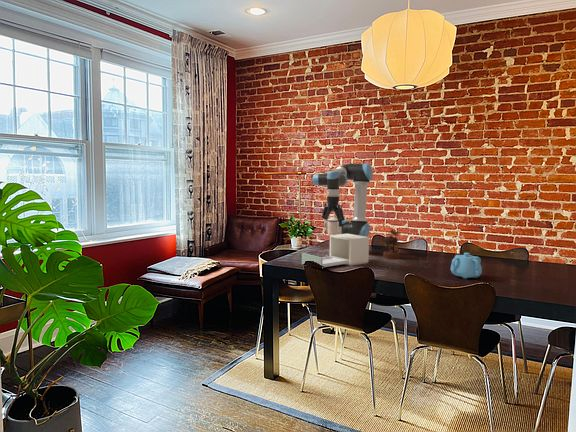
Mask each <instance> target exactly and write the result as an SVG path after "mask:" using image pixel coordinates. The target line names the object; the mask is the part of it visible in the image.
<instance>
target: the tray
mask: <svg viewBox="0 0 576 432" xmlns="http://www.w3.org/2000/svg"><path fill="white" fill-rule="evenodd" d="M305 261H314V262H317V263H319V264H320V265H322V266H324V267H323V268H327V267H333V266H340V265H345V264H347V263H349V260H346V259H342V258H338V257H334V256H323V257H321V256H318V255H317V256H316V255H313V254H309V253H305V252H301V265H303V264H304V263H305Z"/></svg>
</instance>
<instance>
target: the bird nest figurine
mask: <svg viewBox="0 0 576 432" xmlns="http://www.w3.org/2000/svg"><path fill="white" fill-rule="evenodd" d="M390 234H391V235H388V236H385V237H384V238H383V242H384V244H386V245H384V244H381V246H382V247H383V248H385V249H386V250H385V251H384V252H383V254H382V255H383V256H382V258H383V259H385V258H386V259H385V260H398V259H400V253H399V251H400V250H399V249H398V246H399V244H398V242H399V241H398V240H399V239H398V237H399V235H401V233H399V232H398V231H396V230H394V229H393V228H391V229H390ZM393 235H394V236H393ZM389 250H391V251H389Z"/></svg>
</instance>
